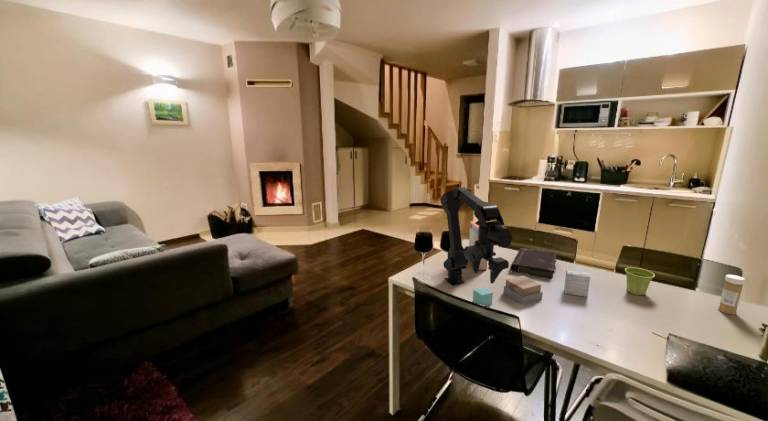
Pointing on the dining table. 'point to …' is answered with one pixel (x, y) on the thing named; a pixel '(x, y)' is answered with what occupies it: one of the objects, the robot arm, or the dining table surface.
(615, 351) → the dining table surface
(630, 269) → the plant pot
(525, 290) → the tan square block
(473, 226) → the cracker box
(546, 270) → the diary
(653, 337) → the dining table surface
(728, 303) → the sprinkles bottle
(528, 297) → the grey square slab
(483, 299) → the teal cube
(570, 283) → the medicine box
